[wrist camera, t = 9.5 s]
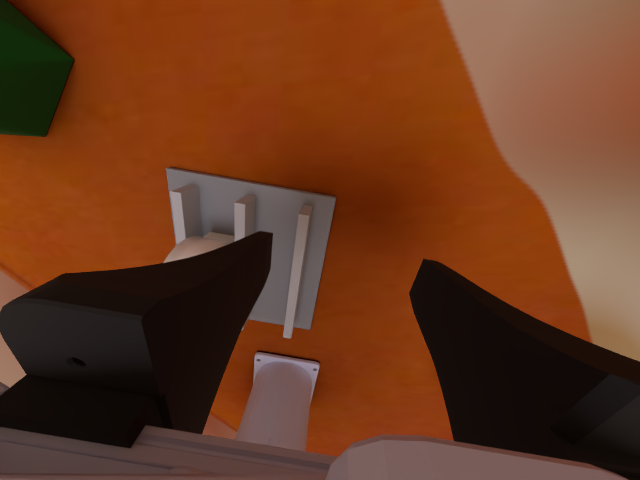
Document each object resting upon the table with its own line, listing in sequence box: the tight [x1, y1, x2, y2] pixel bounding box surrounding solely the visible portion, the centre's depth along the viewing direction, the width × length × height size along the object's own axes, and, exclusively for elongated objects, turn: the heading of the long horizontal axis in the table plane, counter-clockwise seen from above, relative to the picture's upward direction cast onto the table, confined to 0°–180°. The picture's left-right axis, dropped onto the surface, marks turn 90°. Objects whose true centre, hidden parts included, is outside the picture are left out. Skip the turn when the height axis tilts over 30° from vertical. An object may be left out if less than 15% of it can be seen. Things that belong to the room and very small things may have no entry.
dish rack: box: [166, 167, 336, 339], centre depth 21 cm, size 15×14×3 cm
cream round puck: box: [163, 232, 235, 263], centre depth 18 cm, size 8×2×8 cm, turn 171°
